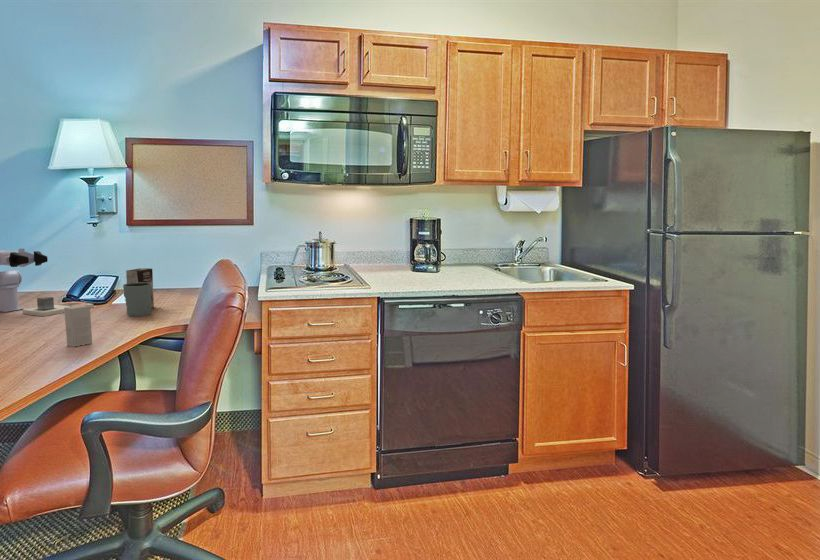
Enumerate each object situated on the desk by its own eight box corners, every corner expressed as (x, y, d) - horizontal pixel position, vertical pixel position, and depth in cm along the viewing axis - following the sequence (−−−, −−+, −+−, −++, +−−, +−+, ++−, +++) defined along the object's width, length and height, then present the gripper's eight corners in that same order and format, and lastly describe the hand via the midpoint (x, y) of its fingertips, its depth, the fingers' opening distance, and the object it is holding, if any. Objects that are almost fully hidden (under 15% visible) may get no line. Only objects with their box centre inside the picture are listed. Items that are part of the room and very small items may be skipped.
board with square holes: (22, 313, 252) (22, 309, 252) (73, 305, 271) (73, 301, 271) (43, 316, 247) (43, 312, 246) (94, 307, 266) (93, 303, 266)
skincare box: (85, 342, 206) (83, 304, 205) (92, 343, 204) (90, 306, 202) (66, 345, 201) (63, 307, 200) (73, 347, 199) (71, 308, 197)
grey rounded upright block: (158, 313, 255) (157, 283, 254) (140, 318, 246) (138, 286, 244) (137, 311, 259) (136, 281, 257) (118, 316, 249) (117, 285, 248)
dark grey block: (37, 313, 253) (36, 297, 252) (47, 311, 257) (46, 296, 256) (44, 314, 252) (43, 298, 251) (54, 312, 255) (53, 297, 254)
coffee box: (141, 310, 260) (139, 270, 258) (127, 310, 262) (125, 270, 260) (154, 307, 269) (153, 268, 267) (140, 306, 271) (139, 267, 268)
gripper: (-6, 248, 247) (18, 249, 241) (31, 247, 260) (54, 248, 254) (-5, 267, 247) (19, 268, 242) (31, 265, 261) (55, 266, 255)
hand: (37, 259), depth 248 cm, fingers open, 7 cm apart
